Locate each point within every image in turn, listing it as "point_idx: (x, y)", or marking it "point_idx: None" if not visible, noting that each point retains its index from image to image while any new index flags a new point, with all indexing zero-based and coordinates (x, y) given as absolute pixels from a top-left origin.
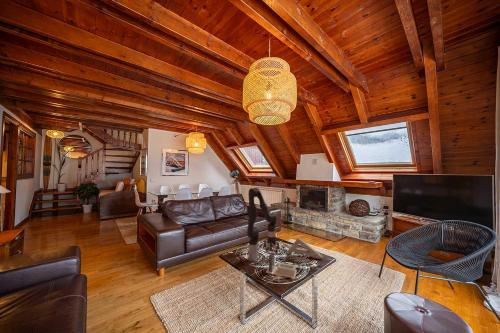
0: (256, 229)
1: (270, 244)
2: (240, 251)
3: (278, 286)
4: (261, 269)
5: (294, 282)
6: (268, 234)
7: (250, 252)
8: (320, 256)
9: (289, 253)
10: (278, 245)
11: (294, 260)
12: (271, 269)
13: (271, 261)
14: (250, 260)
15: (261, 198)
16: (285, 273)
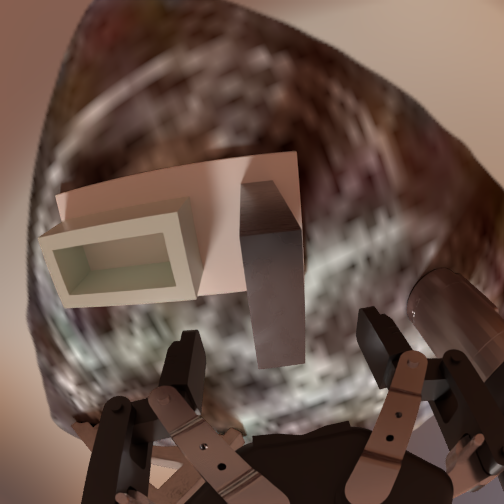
0: None
1: (334, 471)
2: None
3: (125, 45)
4: (350, 197)
5: (48, 160)
6: None
7: (486, 304)
8: (75, 430)
9: (221, 435)
10: (87, 471)
11: None
12: (246, 188)
13: (247, 212)
14: (450, 271)
15: None
16: (118, 210)
